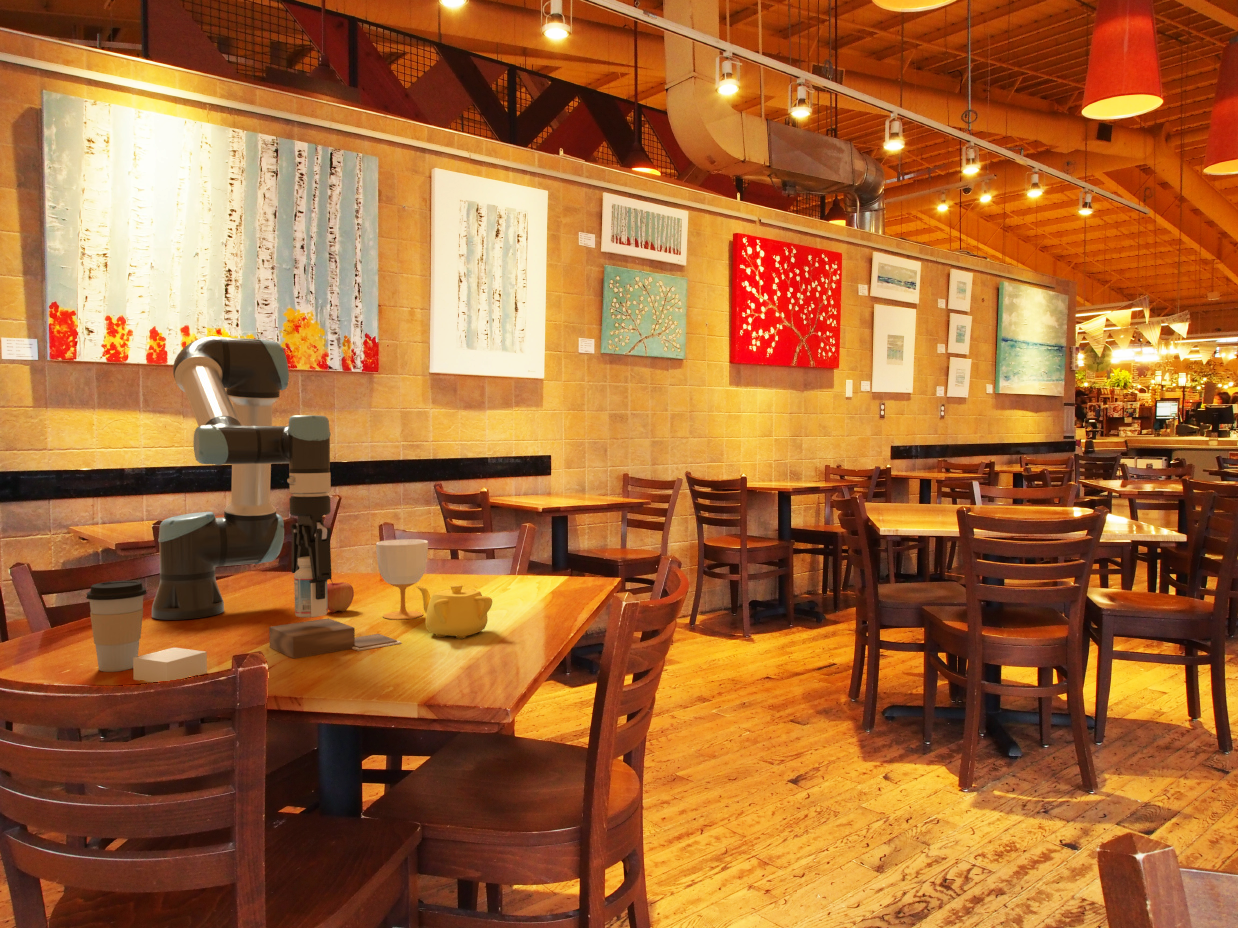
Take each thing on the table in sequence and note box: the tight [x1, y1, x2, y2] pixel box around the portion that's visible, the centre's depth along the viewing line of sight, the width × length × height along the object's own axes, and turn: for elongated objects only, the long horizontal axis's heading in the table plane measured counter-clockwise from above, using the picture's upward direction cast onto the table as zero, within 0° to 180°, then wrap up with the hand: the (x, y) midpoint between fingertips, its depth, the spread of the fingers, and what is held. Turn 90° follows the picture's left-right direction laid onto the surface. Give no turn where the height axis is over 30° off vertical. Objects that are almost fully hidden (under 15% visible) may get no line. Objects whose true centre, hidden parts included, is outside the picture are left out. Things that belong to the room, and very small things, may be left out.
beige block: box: [132, 646, 208, 683], centre depth 150 cm, size 8×8×4 cm
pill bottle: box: [293, 556, 328, 618], centre depth 170 cm, size 6×6×11 cm
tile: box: [352, 633, 402, 652], centre depth 174 cm, size 9×9×1 cm
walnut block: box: [269, 618, 356, 659], centre depth 171 cm, size 12×12×4 cm
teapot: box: [415, 584, 493, 639], centre depth 182 cm, size 14×13×10 cm
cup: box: [375, 538, 429, 621], centre depth 201 cm, size 12×12×17 cm
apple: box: [327, 578, 355, 614], centre depth 206 cm, size 7×7×8 cm
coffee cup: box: [85, 580, 148, 673], centre depth 156 cm, size 9×9×15 cm
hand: (311, 612), depth 171 cm, fingers closed on pill bottle, 6 cm apart
